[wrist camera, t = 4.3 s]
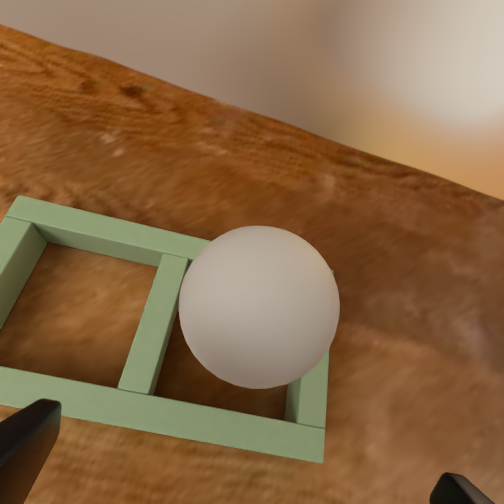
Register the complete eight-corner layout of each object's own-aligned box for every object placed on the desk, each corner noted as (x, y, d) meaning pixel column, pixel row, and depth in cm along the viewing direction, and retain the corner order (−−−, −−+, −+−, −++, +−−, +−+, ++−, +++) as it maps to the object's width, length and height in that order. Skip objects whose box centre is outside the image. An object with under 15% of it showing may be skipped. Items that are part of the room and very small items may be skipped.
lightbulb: (226, 277, 21) (260, 164, 12) (299, 337, 20) (401, 268, 11) (158, 349, 19) (130, 280, 9) (239, 422, 18) (305, 434, 8)
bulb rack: (306, 457, 18) (323, 464, 15) (-66, 388, 16) (-106, 385, 14) (319, 283, 22) (333, 269, 20) (35, 217, 21) (17, 194, 19)
